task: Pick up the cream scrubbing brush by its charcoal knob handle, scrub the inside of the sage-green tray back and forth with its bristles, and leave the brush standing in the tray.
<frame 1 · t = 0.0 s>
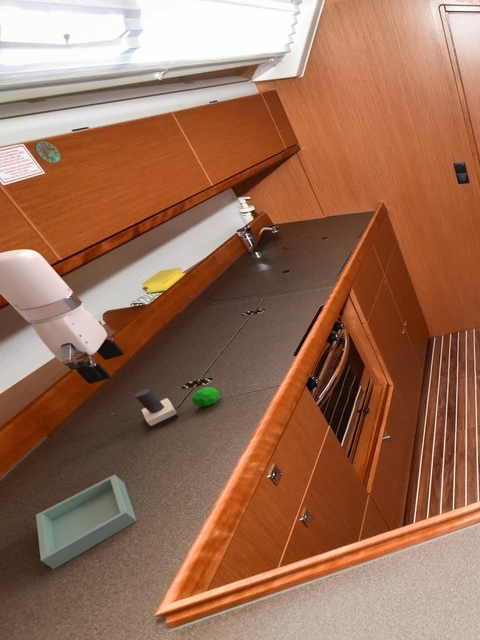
hand: (108, 368, 93), 19 cm above the table, tool pointing down, fingers open, 9 cm apart
polyhedron: (211, 403, 109), on the table
brush: (163, 416, 105), on the table
tray: (92, 522, 82), on the table
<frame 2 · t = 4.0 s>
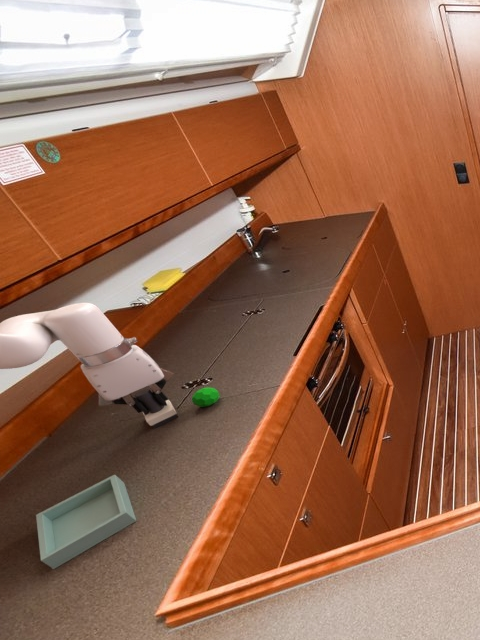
hand: (155, 407, 103), 4 cm above the table, tool pointing down, fingers closed on brush, 2 cm apart
brush: (163, 416, 105), on the table, touching gripper
everything else where it was.
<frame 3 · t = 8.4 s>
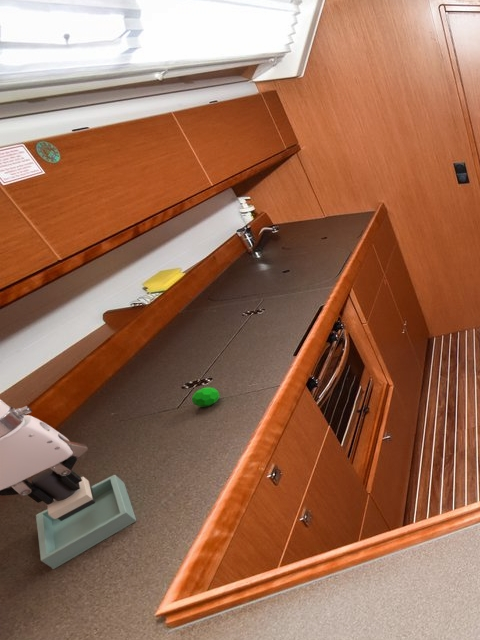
hand: (63, 492, 79), 8 cm above the table, tool pointing down, fingers closed on brush, 2 cm apart
brush: (76, 502, 81), point 4 cm above the table, touching gripper
everything else where it was.
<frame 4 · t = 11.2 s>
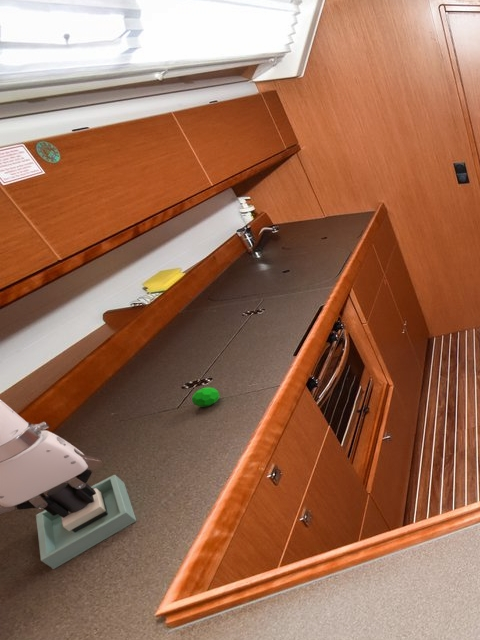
hand: (77, 505, 81), 4 cm above the table, tool pointing down, fingers closed on brush, 2 cm apart
brush: (89, 514, 83), point 1 cm above the table, touching gripper
everything else where it was.
when the fingers open (4 cm above the table, at t = 13.1 s): brush stays where it is, resting on tray.
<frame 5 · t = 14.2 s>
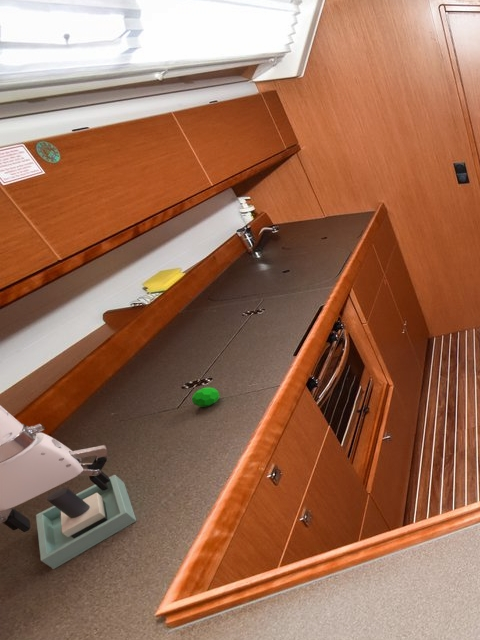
hand: (67, 505, 79), 6 cm above the table, tool pointing down, fingers open, 9 cm apart
brush: (90, 519, 82), point 1 cm above the table, touching tray
everything else where it was.
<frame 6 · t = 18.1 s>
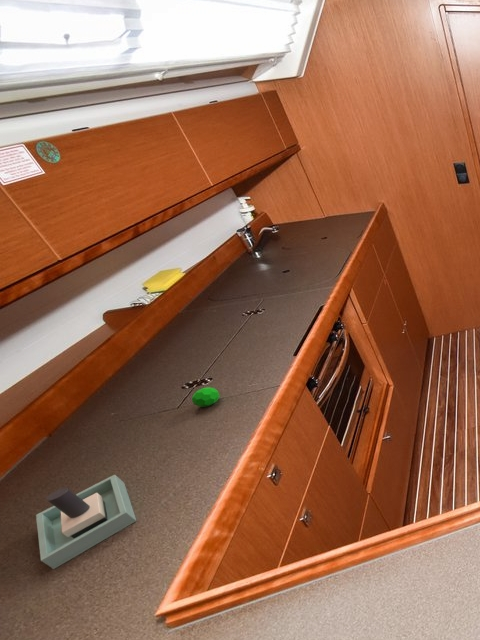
nothing on the table moved.
at the end: brush inside the target area in the tray (0.3 cm from its centre), point 0.6 cm above the tray's base; brush tilted 0°; the gripper is holding nothing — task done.
